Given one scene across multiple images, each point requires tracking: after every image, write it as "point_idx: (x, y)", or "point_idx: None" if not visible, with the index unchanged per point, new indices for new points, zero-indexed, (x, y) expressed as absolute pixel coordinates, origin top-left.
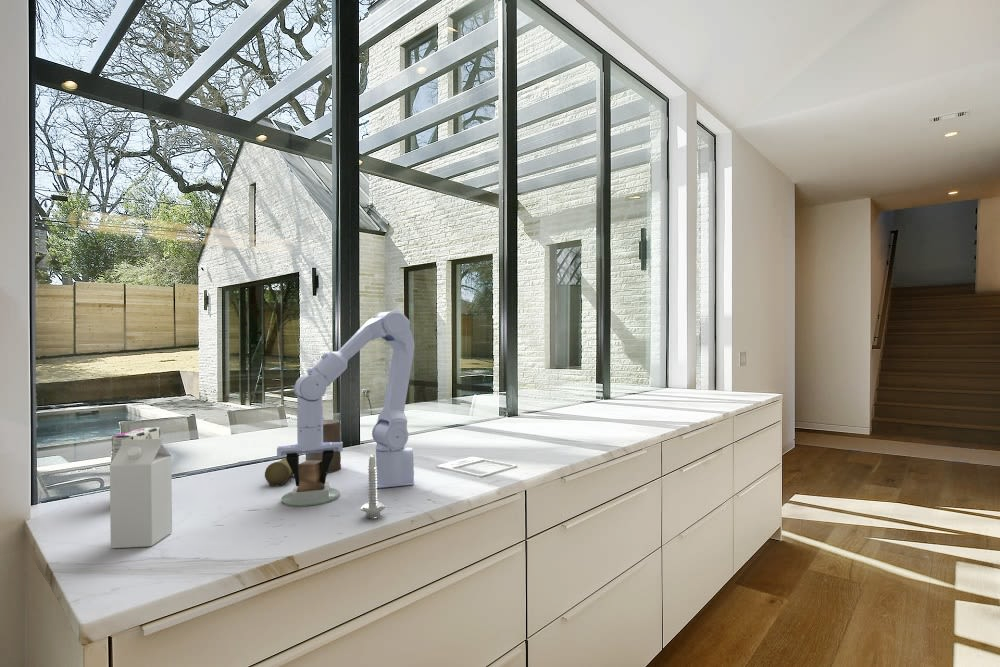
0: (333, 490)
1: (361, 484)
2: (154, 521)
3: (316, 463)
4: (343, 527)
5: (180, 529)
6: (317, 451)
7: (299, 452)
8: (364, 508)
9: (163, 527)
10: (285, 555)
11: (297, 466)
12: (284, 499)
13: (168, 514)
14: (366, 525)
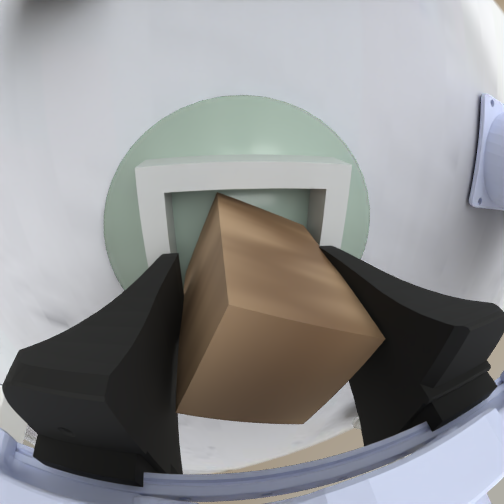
0: (348, 196)
1: (448, 108)
2: (19, 442)
3: (318, 406)
4: (307, 432)
5: (5, 377)
6: (369, 462)
7: (180, 496)
8: (357, 427)
9: (13, 416)
10: (224, 469)
11: (176, 420)
12: (127, 277)
13: (2, 422)
14: (342, 424)
